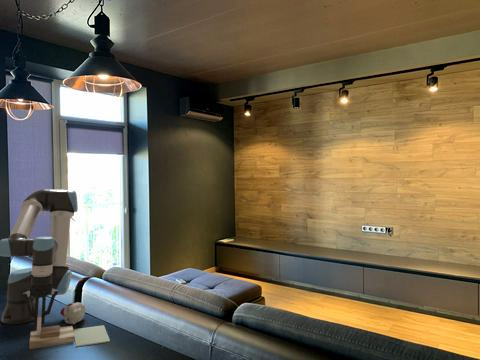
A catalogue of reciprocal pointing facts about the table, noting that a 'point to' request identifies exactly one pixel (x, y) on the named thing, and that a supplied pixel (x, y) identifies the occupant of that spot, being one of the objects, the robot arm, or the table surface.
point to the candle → (73, 312)
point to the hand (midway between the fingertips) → (38, 332)
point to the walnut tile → (50, 332)
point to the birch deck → (52, 338)
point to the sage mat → (90, 336)
